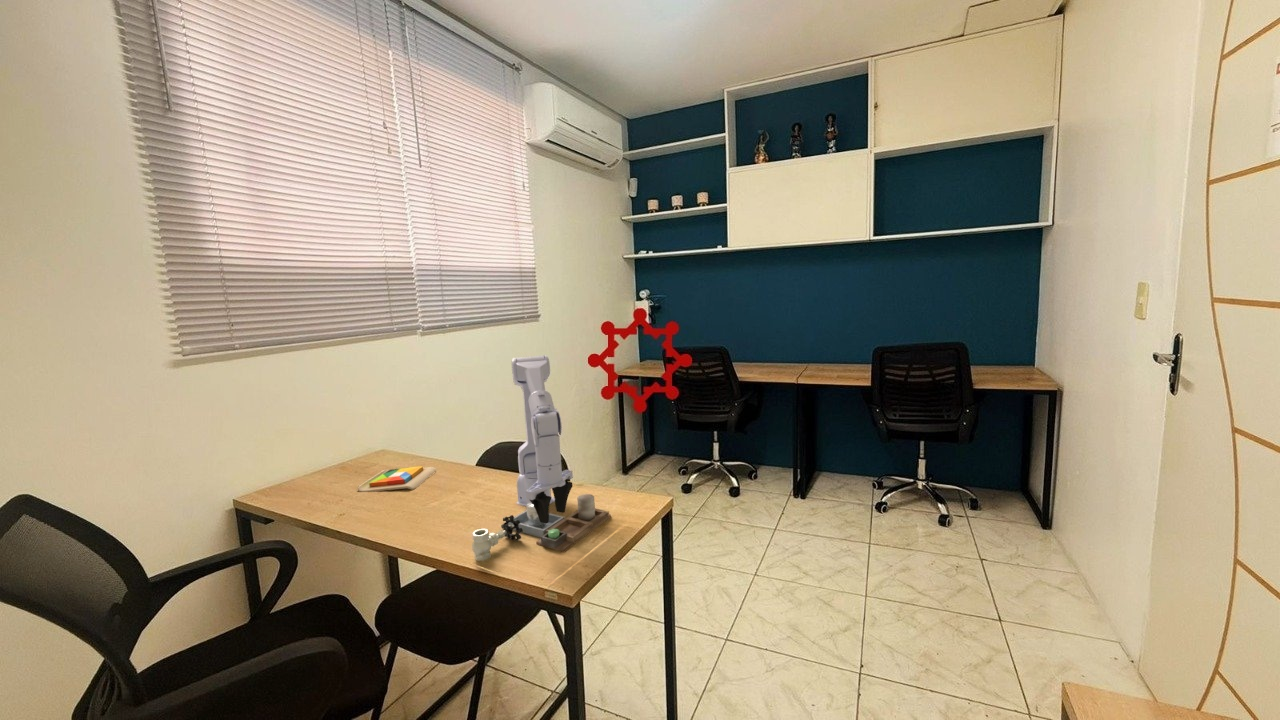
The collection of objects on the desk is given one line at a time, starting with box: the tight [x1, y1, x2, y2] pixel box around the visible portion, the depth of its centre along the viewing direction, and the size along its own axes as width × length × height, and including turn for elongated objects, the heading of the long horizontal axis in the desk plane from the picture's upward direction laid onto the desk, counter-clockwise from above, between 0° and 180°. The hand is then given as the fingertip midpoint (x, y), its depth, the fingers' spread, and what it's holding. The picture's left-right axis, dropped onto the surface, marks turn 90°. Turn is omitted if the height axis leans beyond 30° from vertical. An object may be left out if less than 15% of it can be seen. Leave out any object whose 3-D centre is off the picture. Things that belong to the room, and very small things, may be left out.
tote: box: [508, 509, 565, 539], centre depth 126 cm, size 12×8×2 cm
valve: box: [471, 514, 523, 562], centre depth 115 cm, size 7×7×12 cm
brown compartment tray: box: [535, 493, 612, 553], centre depth 123 cm, size 8×20×7 cm, turn 150°
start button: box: [548, 529, 559, 540], centre depth 116 cm, size 3×3×2 cm
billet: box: [525, 502, 545, 529], centre depth 126 cm, size 4×4×6 cm
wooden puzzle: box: [357, 465, 437, 493], centre depth 164 cm, size 18×19×4 cm
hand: (552, 516), depth 116 cm, fingers open, 5 cm apart
